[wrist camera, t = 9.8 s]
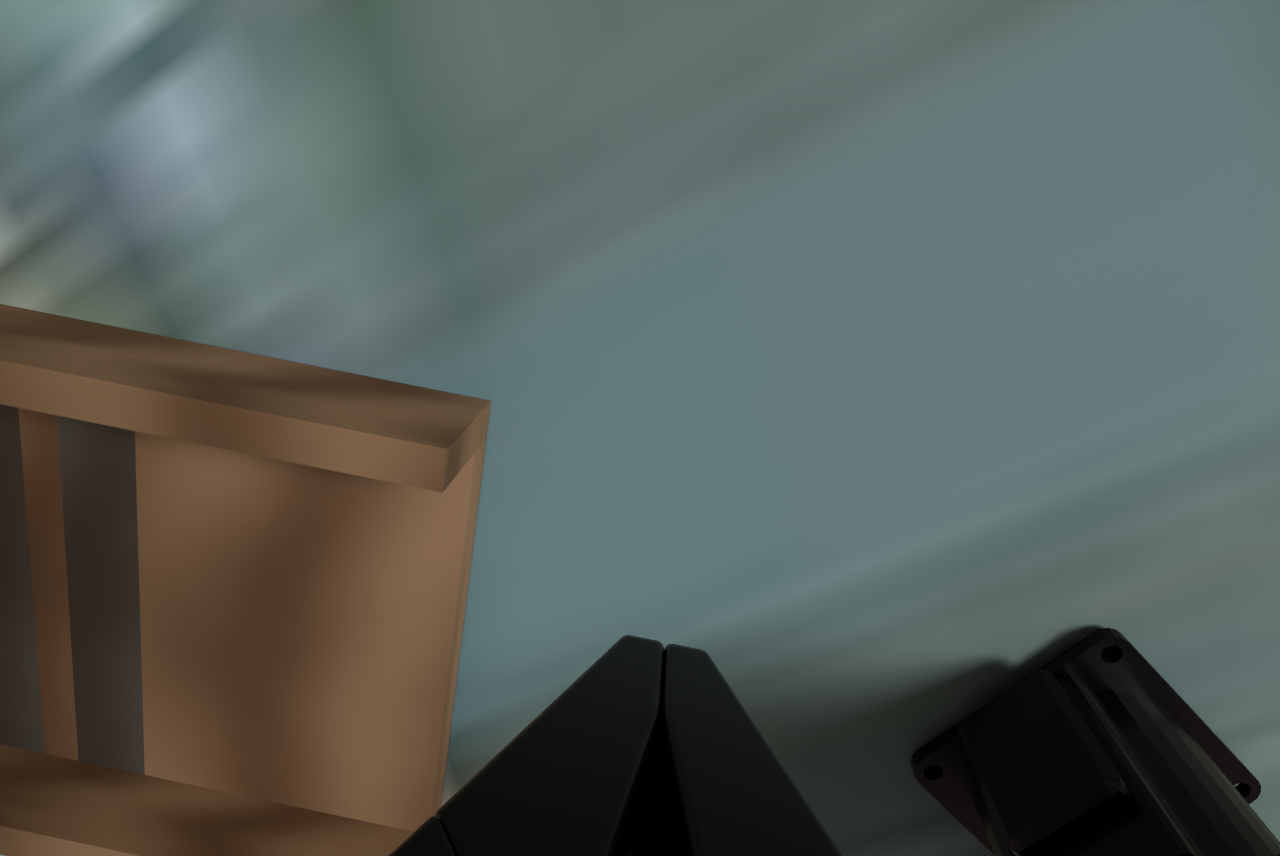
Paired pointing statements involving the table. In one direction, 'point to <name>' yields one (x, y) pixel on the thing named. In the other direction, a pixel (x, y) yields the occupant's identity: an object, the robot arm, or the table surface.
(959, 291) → the table surface
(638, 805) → the robot arm
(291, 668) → the channel
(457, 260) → the table surface
